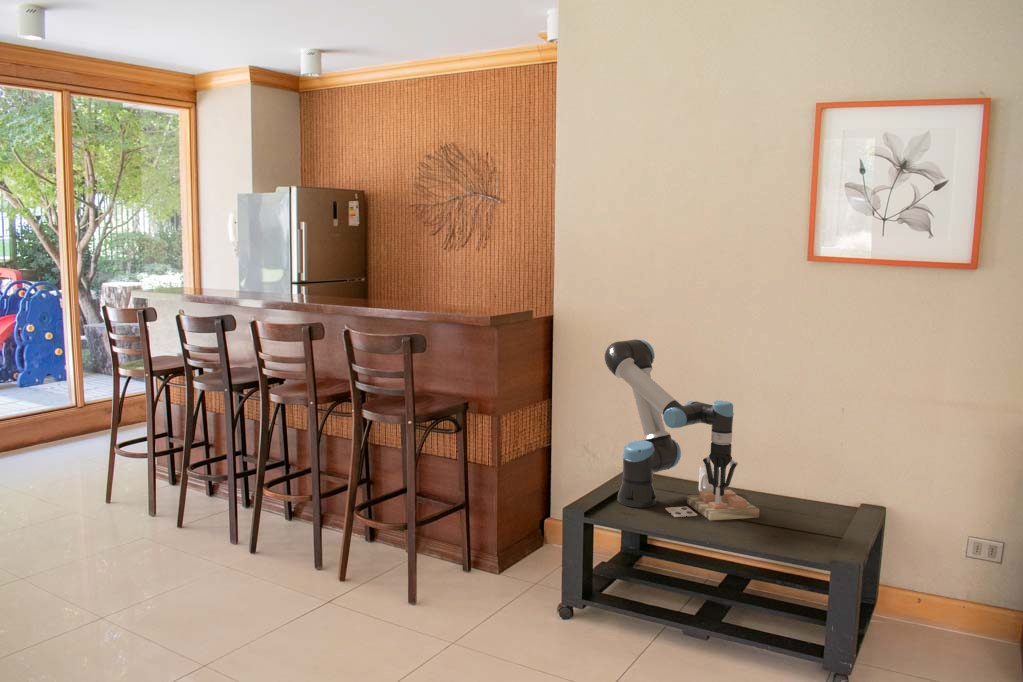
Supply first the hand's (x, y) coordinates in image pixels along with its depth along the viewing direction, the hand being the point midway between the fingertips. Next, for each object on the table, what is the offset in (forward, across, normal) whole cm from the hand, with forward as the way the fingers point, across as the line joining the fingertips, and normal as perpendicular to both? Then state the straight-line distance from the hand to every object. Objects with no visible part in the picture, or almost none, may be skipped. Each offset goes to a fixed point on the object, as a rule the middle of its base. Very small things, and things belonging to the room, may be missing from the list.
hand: (718, 503), depth 312 cm
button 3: (+2, 0, +11) cm, 12 cm away
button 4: (+2, +6, +6) cm, 8 cm away
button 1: (+2, -6, +6) cm, 8 cm away
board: (+4, 0, +6) cm, 7 cm away
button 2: (+4, 0, 0) cm, 4 cm away
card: (+4, -12, -6) cm, 14 cm away
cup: (+5, -12, +23) cm, 27 cm away
